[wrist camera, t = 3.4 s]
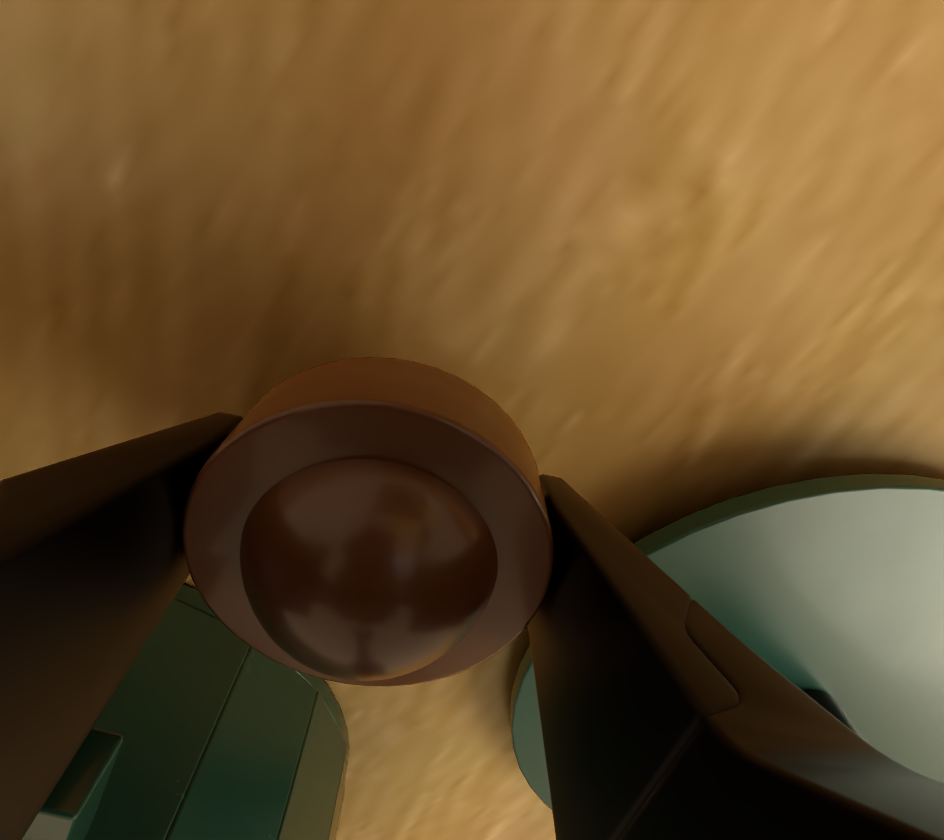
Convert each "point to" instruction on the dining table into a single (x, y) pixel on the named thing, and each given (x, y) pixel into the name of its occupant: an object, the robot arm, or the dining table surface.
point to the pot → (204, 746)
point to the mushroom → (372, 525)
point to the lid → (814, 604)
